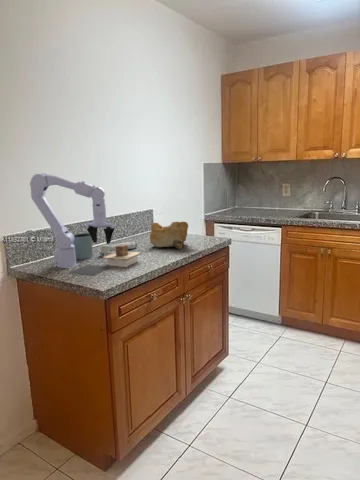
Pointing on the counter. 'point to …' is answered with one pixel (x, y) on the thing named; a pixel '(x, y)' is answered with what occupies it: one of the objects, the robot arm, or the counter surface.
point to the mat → (90, 270)
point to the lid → (121, 253)
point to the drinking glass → (83, 246)
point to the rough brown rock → (169, 235)
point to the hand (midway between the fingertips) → (101, 242)
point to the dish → (122, 262)
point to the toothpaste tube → (109, 248)
